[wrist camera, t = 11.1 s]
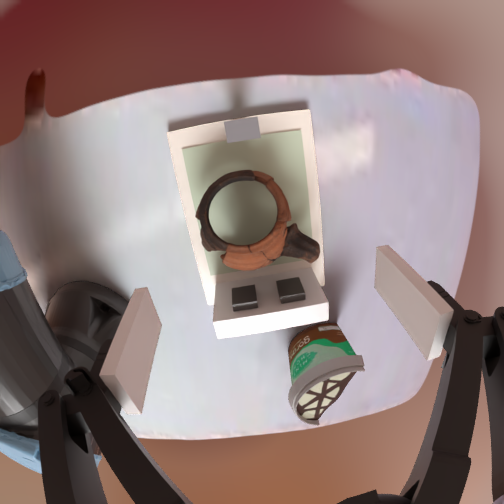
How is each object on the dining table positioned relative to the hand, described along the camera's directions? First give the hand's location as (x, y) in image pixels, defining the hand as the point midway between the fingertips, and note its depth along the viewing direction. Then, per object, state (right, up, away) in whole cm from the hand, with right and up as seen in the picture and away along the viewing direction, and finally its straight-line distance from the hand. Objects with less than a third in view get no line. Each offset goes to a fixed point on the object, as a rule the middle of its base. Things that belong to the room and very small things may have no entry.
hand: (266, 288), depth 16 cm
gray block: (-2, +14, +10) cm, 17 cm away
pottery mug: (0, +5, +15) cm, 16 cm away
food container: (+6, -11, +24) cm, 27 cm away
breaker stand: (-1, +6, +15) cm, 17 cm away
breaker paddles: (+1, -2, +15) cm, 15 cm away
